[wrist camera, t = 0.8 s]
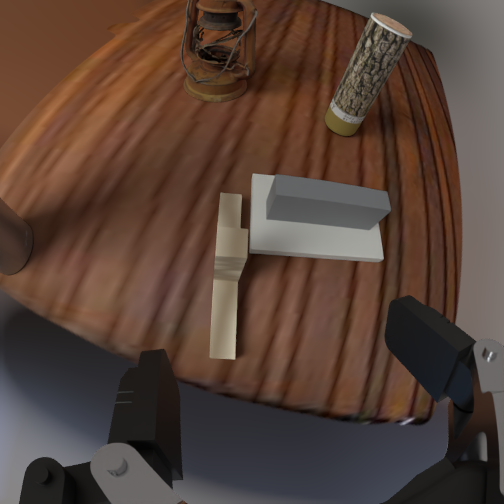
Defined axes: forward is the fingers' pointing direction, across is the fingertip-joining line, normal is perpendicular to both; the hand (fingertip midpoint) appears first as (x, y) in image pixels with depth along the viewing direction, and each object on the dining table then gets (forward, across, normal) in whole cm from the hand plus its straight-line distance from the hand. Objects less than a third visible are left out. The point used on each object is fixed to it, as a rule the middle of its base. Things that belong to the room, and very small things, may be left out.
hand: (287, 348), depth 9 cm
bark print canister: (+45, -26, -10) cm, 53 cm away
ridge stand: (+32, -14, +5) cm, 35 cm away
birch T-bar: (+28, 0, +9) cm, 29 cm away
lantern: (+52, -4, -22) cm, 57 cm away
